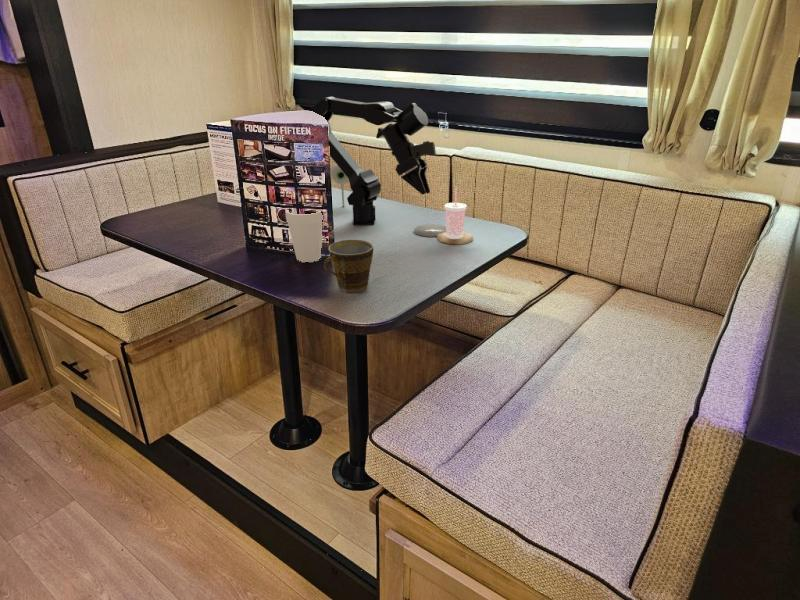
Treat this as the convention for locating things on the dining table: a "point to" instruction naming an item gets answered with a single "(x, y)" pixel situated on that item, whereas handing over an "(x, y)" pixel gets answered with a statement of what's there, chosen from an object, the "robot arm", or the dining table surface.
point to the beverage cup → (455, 218)
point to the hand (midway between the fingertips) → (426, 193)
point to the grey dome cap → (429, 230)
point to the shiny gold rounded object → (463, 240)
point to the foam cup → (306, 235)
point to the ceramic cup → (351, 264)
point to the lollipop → (339, 178)
